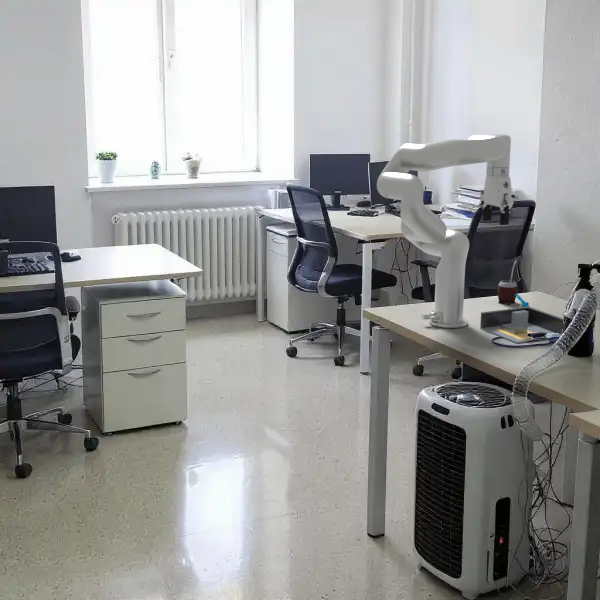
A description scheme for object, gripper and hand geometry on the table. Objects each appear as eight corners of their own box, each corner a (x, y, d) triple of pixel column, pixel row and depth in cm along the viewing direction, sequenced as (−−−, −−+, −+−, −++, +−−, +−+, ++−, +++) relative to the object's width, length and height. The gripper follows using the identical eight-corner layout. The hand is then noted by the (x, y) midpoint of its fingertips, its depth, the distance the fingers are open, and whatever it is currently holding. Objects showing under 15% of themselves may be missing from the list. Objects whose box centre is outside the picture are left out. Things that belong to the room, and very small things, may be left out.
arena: (516, 343, 281) (517, 326, 280) (480, 328, 298) (481, 312, 297) (565, 336, 289) (567, 319, 287) (527, 322, 306) (528, 306, 304)
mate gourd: (499, 305, 329) (501, 264, 325) (494, 300, 337) (496, 260, 333) (520, 305, 329) (522, 264, 326) (514, 299, 337) (516, 260, 333)
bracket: (527, 332, 291) (528, 311, 289) (514, 334, 289) (515, 313, 287) (513, 327, 297) (514, 306, 296) (501, 329, 295) (502, 308, 293)
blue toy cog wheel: (539, 314, 309) (518, 293, 310) (525, 326, 310) (505, 305, 311) (536, 311, 320) (517, 290, 320) (524, 322, 321) (504, 301, 322)
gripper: (523, 173, 298) (520, 225, 302) (491, 169, 313) (489, 218, 317) (504, 174, 295) (501, 227, 299) (473, 170, 310) (471, 219, 314)
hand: (495, 222), depth 308 cm, fingers open, 9 cm apart
